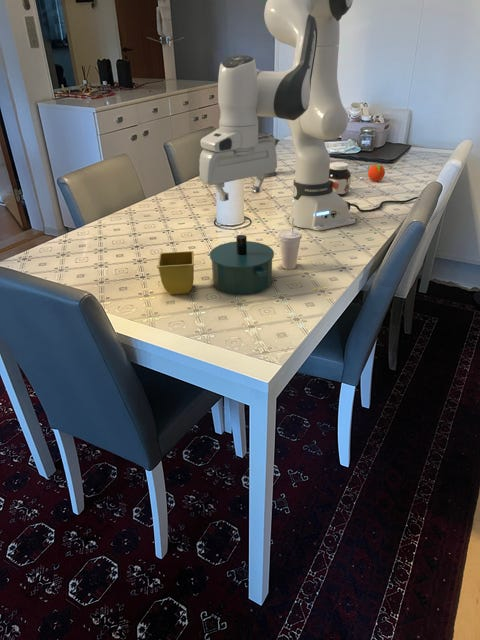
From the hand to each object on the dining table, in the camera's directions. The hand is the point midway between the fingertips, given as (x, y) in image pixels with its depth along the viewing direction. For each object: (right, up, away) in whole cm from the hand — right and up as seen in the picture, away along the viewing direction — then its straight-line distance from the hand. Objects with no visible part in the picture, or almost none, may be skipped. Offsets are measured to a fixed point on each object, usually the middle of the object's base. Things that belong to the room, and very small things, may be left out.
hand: (240, 196), depth 119 cm
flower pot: (-16, -22, +8) cm, 29 cm away
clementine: (+58, +29, +90) cm, 111 cm away
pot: (+1, -20, +12) cm, 23 cm away
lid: (0, -13, +8) cm, 15 cm away
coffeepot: (+10, +36, +104) cm, 110 cm away
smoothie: (+14, -15, +19) cm, 28 cm away
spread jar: (+38, +21, +78) cm, 89 cm away
